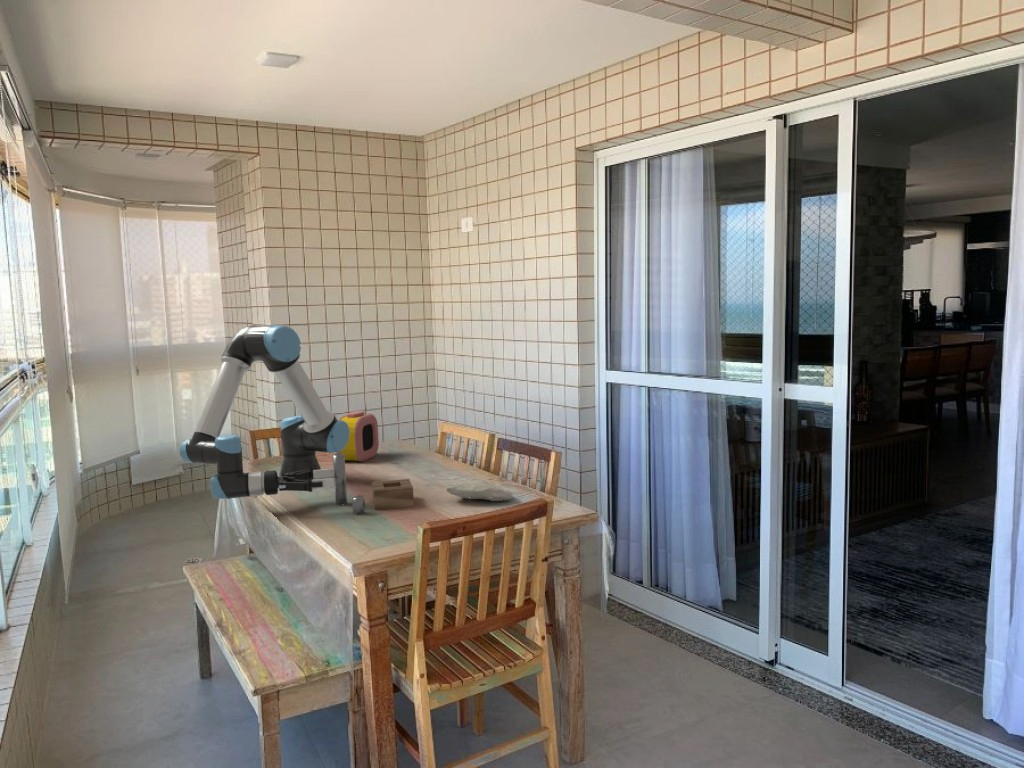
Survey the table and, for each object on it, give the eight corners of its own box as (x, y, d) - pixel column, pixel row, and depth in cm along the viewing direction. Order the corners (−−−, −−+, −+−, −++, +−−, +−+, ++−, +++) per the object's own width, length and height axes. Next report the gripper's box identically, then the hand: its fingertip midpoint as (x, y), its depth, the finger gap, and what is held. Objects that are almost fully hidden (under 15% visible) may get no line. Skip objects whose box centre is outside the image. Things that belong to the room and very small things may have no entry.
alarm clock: (360, 464, 305) (357, 416, 302) (335, 463, 308) (332, 415, 306) (380, 454, 322) (378, 409, 320) (356, 454, 325) (354, 408, 323)
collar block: (372, 500, 251) (371, 482, 250) (409, 496, 254) (408, 478, 253) (375, 509, 239) (374, 490, 238) (413, 506, 242) (412, 487, 241)
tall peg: (335, 502, 249) (332, 454, 247) (347, 501, 250) (344, 453, 248) (335, 505, 245) (332, 456, 243) (347, 504, 246) (344, 455, 244)
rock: (483, 493, 264) (429, 491, 254) (485, 475, 264) (431, 472, 254) (517, 509, 243) (460, 507, 233) (520, 490, 243) (463, 487, 233)
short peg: (352, 512, 237) (352, 496, 237) (364, 511, 238) (363, 495, 238) (353, 515, 234) (352, 499, 233) (365, 514, 235) (364, 498, 234)
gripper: (268, 485, 253) (334, 480, 258) (261, 505, 229) (334, 498, 234) (266, 463, 252) (333, 458, 257) (259, 480, 228) (333, 474, 233)
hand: (334, 477), depth 245 cm, fingers open, 13 cm apart
